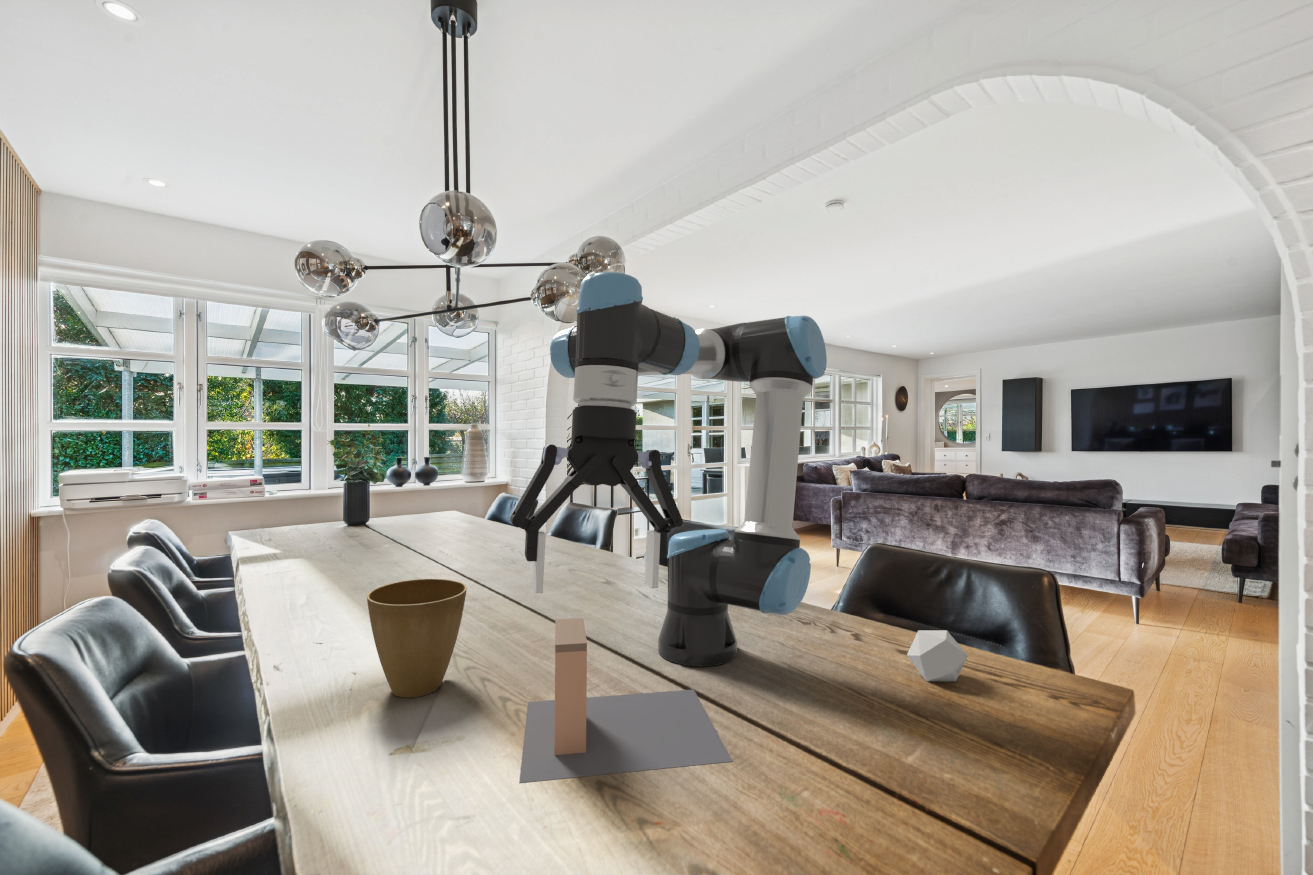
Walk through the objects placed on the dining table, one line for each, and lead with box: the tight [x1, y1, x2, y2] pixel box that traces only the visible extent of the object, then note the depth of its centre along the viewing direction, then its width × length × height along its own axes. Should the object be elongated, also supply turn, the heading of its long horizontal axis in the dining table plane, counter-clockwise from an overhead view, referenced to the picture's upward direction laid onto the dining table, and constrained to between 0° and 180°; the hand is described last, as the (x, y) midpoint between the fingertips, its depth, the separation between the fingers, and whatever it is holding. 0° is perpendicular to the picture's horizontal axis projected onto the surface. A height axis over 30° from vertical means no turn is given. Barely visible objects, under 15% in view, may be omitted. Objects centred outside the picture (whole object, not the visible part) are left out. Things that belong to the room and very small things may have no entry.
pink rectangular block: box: [554, 617, 588, 755], centre depth 75 cm, size 10×4×14 cm, turn 10°
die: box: [906, 629, 969, 682], centre depth 95 cm, size 8×9×10 cm
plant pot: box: [366, 578, 468, 699], centre depth 90 cm, size 15×15×16 cm
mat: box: [519, 689, 734, 784], centre depth 76 cm, size 20×26×1 cm
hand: (596, 588), depth 64 cm, fingers open, 13 cm apart
